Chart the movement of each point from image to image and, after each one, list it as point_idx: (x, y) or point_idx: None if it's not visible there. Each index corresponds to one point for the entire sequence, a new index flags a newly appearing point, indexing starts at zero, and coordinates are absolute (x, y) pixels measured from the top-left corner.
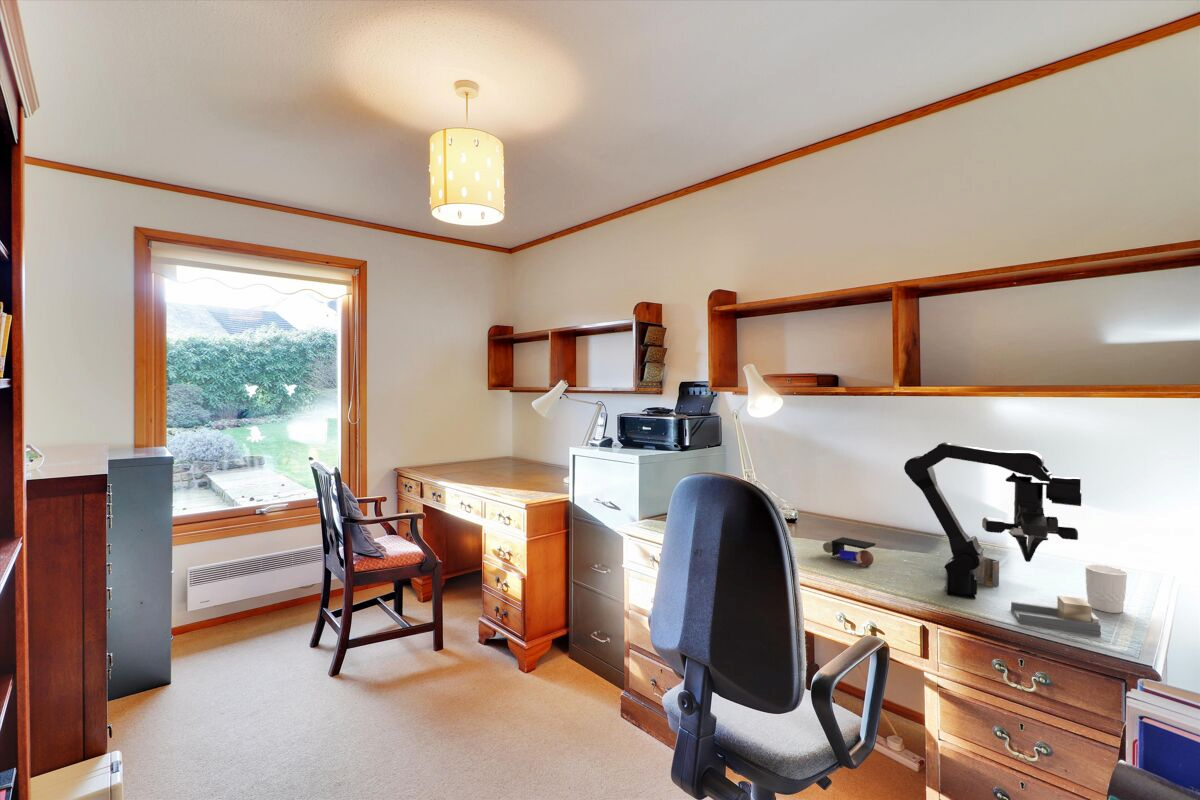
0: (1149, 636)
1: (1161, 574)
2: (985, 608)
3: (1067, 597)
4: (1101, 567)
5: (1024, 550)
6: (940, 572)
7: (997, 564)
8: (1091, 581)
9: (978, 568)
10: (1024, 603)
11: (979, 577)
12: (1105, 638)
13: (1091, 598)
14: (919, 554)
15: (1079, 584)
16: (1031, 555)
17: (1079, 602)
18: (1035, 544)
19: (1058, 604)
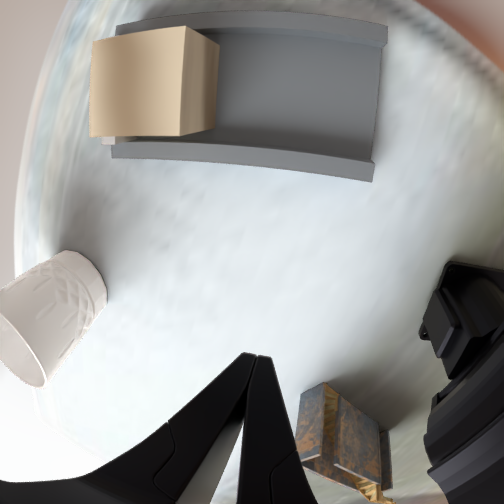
0: (37, 101)
1: (42, 418)
2: (451, 174)
3: (143, 124)
4: (27, 376)
5: (277, 436)
6: (408, 436)
7: (301, 449)
8: (53, 319)
9: (350, 440)
10: (322, 169)
11: (348, 415)
12: (132, 14)
13: (86, 291)
14: (382, 492)
15: (117, 405)
16: (218, 388)
17: (117, 69)
18: (135, 479)
19: (195, 117)
